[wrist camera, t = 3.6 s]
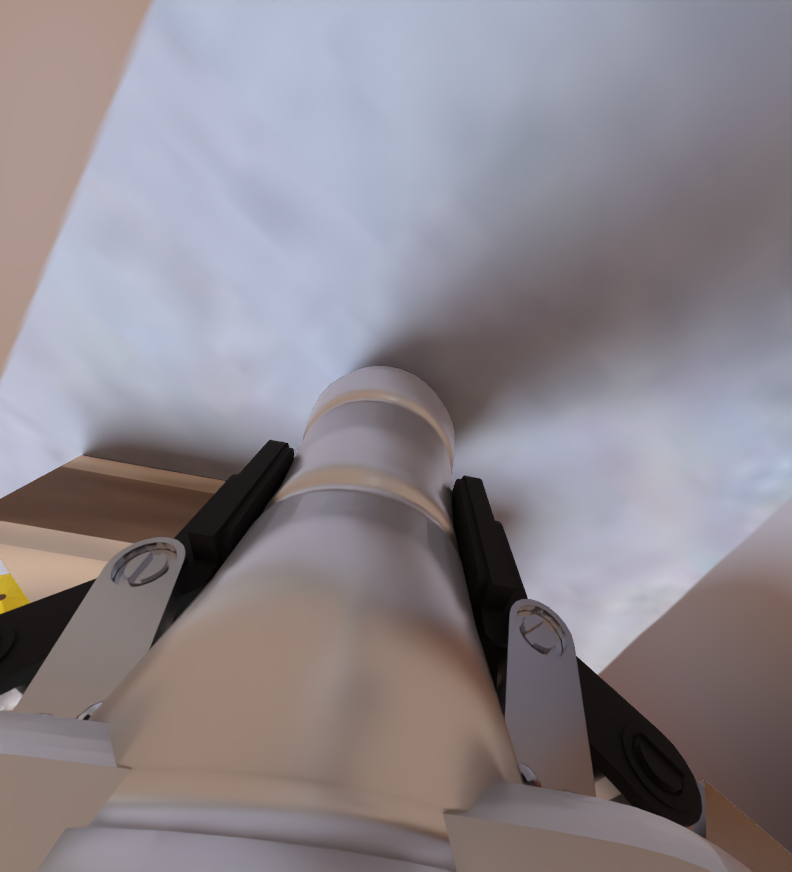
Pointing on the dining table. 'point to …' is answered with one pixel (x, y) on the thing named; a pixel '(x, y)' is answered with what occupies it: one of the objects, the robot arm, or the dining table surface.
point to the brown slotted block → (91, 519)
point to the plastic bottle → (315, 672)
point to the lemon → (10, 594)
